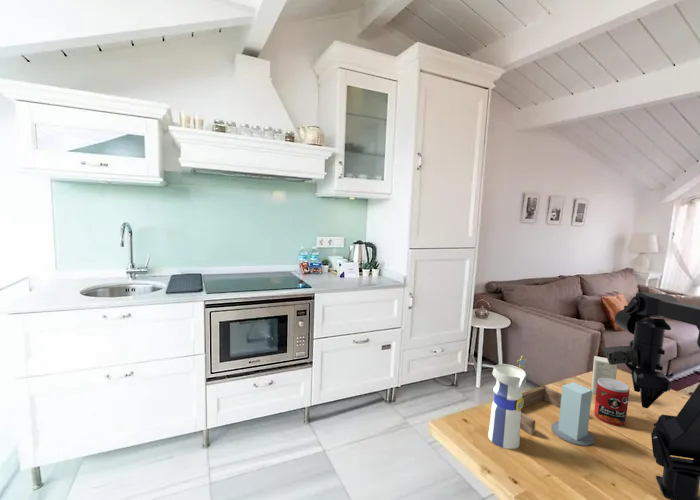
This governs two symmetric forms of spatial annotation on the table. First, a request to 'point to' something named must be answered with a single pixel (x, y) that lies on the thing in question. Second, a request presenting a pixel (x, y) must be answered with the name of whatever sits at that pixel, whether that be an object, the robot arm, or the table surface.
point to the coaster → (582, 442)
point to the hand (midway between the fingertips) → (640, 399)
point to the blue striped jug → (507, 405)
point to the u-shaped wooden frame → (533, 397)
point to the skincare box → (602, 371)
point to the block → (575, 410)
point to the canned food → (611, 401)
